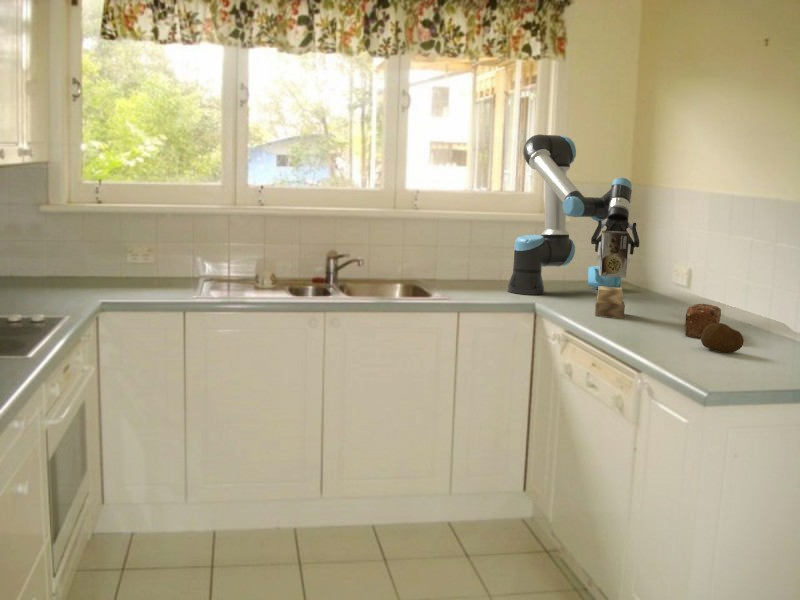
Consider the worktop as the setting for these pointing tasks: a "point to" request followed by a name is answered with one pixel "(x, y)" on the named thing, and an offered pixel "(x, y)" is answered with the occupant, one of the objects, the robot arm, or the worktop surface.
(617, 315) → the tower base
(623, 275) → the coffee box
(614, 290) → the tower top
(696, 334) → the bread
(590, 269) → the teapot
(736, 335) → the potato
